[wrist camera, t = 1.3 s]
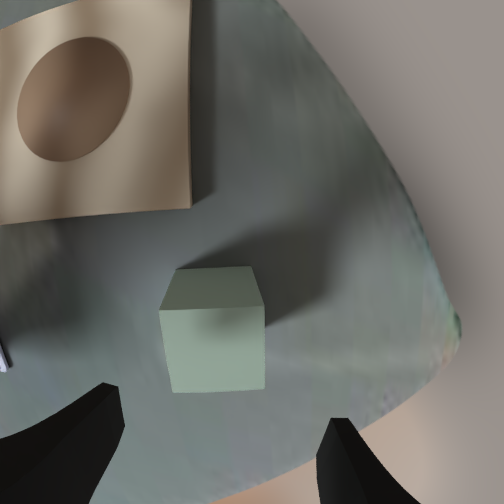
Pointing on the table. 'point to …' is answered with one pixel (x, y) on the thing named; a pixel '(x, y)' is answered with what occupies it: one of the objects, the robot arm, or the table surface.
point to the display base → (96, 110)
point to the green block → (214, 330)
